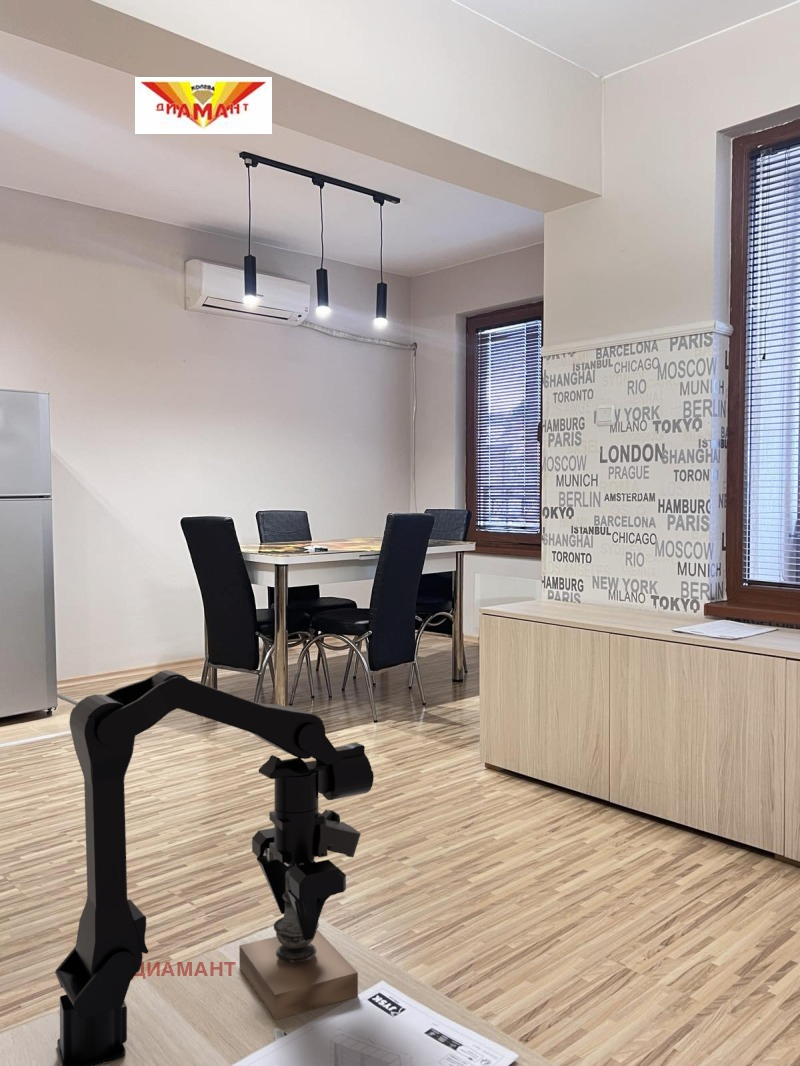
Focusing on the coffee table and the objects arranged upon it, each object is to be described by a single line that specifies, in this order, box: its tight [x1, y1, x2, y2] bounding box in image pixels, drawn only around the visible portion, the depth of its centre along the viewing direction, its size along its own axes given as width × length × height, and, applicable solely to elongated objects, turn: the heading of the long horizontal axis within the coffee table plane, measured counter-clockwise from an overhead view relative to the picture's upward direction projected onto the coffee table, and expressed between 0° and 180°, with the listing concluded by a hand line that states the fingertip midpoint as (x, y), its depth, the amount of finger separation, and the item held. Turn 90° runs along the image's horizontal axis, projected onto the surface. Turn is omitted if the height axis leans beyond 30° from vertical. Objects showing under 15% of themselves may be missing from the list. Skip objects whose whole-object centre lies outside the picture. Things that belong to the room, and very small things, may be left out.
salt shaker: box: [273, 867, 320, 962], centre depth 112 cm, size 6×6×12 cm
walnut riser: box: [238, 928, 359, 1020], centre depth 112 cm, size 11×14×3 cm
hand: (296, 925), depth 112 cm, fingers closed on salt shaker, 8 cm apart
